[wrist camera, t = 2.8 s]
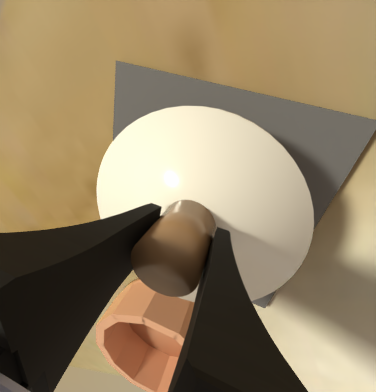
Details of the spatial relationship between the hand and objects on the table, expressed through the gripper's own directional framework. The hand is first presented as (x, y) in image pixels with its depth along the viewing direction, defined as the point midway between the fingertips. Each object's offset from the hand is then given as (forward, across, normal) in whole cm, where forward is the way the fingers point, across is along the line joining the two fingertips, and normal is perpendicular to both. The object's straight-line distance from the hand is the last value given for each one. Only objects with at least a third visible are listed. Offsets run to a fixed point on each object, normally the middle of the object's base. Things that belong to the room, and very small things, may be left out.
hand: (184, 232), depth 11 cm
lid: (+1, 0, 0) cm, 1 cm away
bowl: (+4, 0, +14) cm, 15 cm away
